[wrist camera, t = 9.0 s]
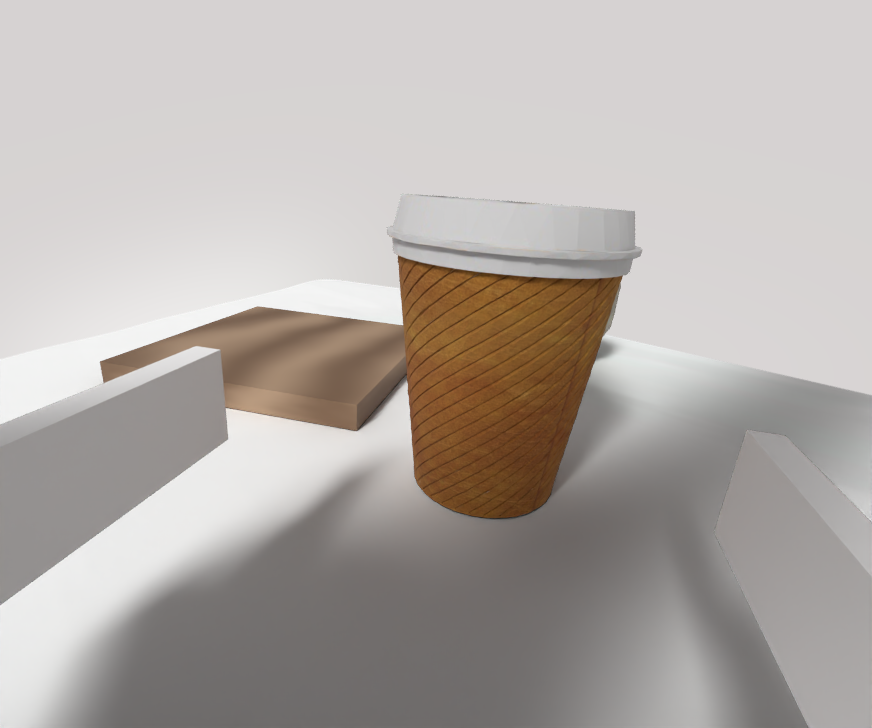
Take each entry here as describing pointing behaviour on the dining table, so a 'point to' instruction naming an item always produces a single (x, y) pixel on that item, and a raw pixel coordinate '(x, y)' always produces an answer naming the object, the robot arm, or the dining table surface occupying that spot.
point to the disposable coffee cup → (501, 339)
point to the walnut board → (291, 363)
